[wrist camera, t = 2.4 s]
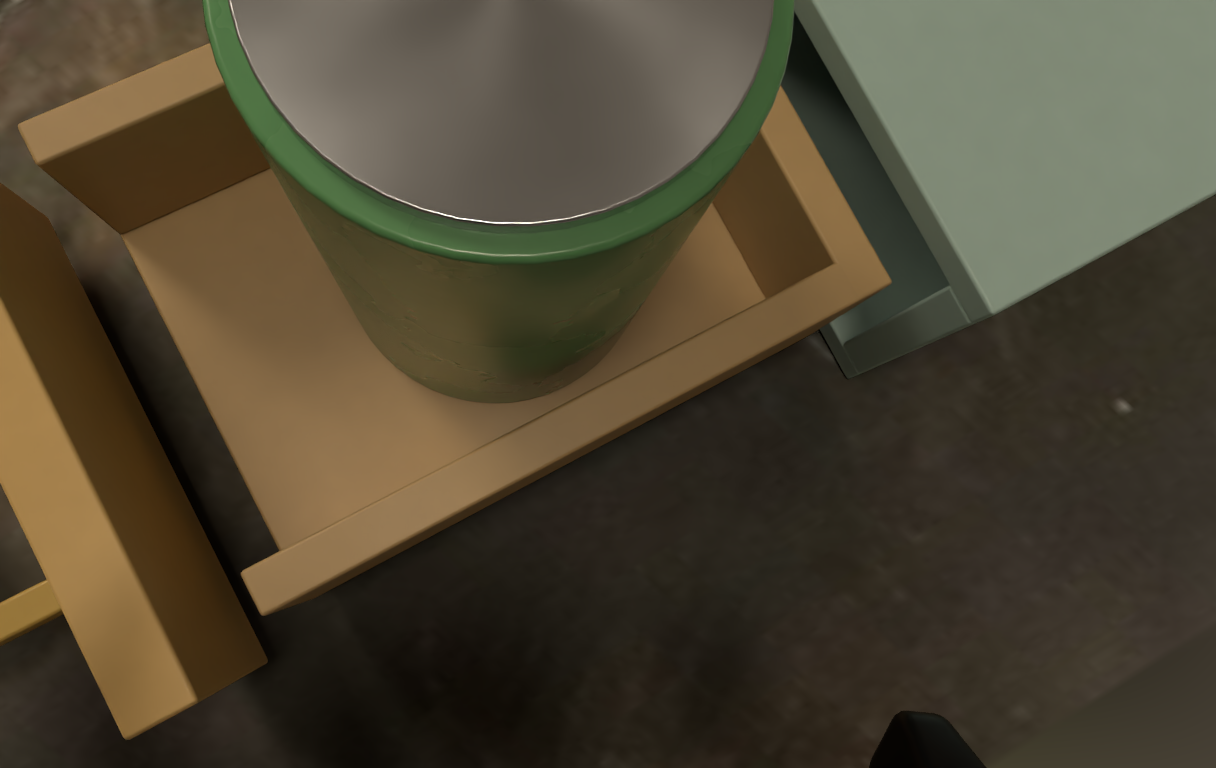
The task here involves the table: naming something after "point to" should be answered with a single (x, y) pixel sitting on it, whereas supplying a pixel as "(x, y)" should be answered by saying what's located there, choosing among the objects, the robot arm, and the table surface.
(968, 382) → the table surface
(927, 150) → the cabinet
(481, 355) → the green can
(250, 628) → the drawer
